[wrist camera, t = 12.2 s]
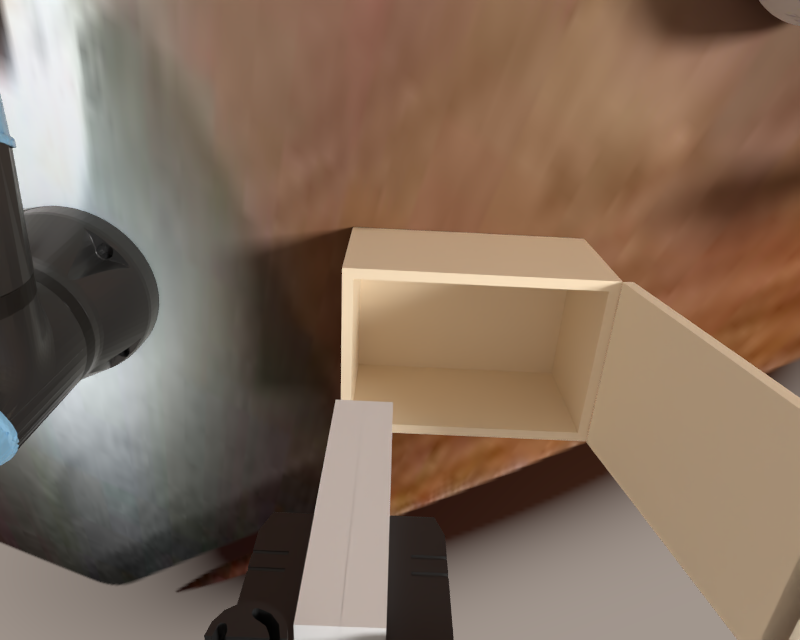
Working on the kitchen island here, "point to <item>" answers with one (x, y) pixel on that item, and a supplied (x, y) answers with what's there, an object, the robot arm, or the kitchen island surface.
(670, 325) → the lid
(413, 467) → the kitchen island surface
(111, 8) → the kitchen island surface
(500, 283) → the carton
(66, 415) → the kitchen island surface
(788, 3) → the teacup
